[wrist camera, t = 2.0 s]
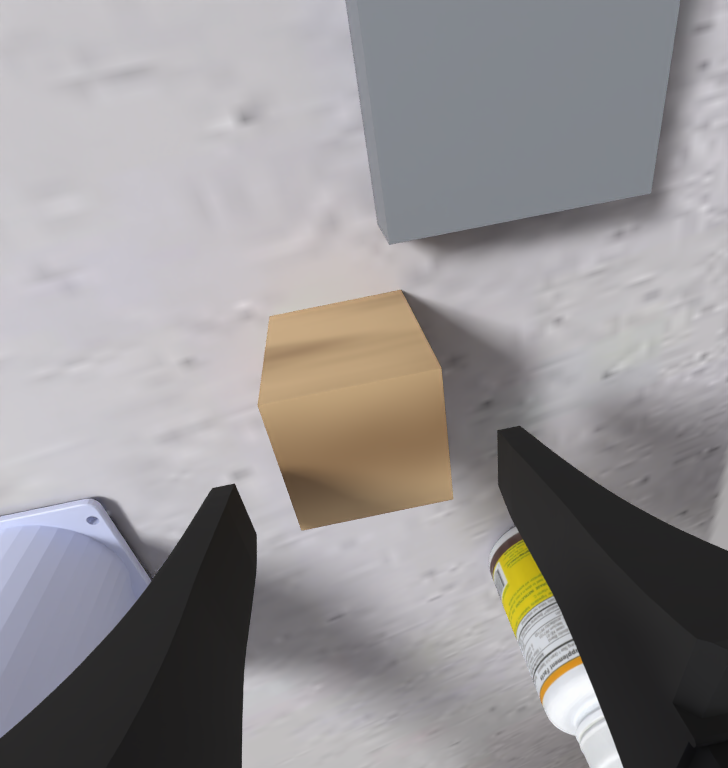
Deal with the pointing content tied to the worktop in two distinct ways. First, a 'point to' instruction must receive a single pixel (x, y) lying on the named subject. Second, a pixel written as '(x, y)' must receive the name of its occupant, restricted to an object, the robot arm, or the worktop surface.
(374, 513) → the oak block
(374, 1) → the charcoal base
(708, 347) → the worktop surface
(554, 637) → the supplement bottle
